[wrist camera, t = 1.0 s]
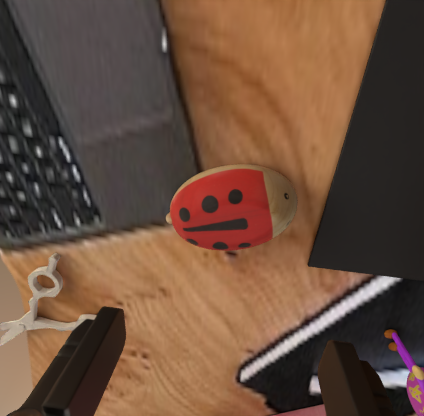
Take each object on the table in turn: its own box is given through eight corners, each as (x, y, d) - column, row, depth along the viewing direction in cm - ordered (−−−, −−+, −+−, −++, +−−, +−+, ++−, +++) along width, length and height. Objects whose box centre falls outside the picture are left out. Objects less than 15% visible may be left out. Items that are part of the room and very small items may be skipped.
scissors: (123, 330, 28) (3, 372, 34) (126, 324, 29) (7, 366, 35) (52, 256, 25) (-68, 317, 31) (57, 251, 25) (-62, 312, 32)
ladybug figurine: (300, 228, 22) (309, 255, 19) (184, 247, 24) (175, 274, 21) (288, 147, 19) (297, 163, 16) (158, 177, 21) (143, 196, 18)
